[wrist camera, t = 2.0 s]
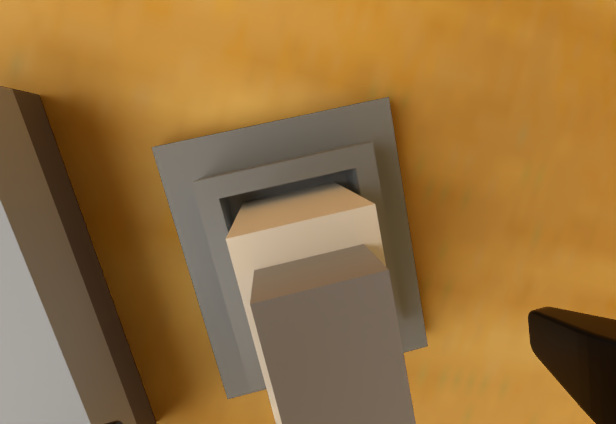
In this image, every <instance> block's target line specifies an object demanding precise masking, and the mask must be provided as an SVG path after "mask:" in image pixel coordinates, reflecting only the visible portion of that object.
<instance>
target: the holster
mask: <svg viewBox="0 0 616 424" xmlns="http://www.w3.org/2000/svg"><path fill="white" fill-rule="evenodd" d="M152 150H153V154H154V157H155V160H156V164H157V167H158V170H159V173H160V177H161V180H162V183H163V187H164V190H165V193H166V197H167V200H168V203H169V207H170V210H171V213H172V217H173V220H174V223H175V226H176V230H177V233H178V236H179V240H180V243H181V246H182V250H183V253H184V256H185V260H186V263H187V266H188V270H189V273H190V276H191V280H192V283H193V286H194V289H195V293H196V296H197V299H198V303H199V306H200V309H201V313H202V316H203V319H204V323H205V326H206V329H207V333H208V336H209V339H210V342H211V346H212V349H213V352H214V356H215V359H216V362H217V366H218V369H219V372H220V376H221V379H222V382H223V386H224V389H225V392H226V395H227V399H230V398H234V397H238V396H242V395H245V394H249V393H253V392H257V391H261V390H264V389H266V385H265V381H264V378H263V374H262V370H261V367H260V363H259V359H258V356H257V352H256V348H255V345H254V341H253V337H252V334H251V330H250V326H249V323H248V319H247V315H246V312H245V308H244V304H243V301H242V297H241V293H240V290H239V286H238V282H237V279H236V275H235V271H234V268H233V264H232V260H231V257H230V253H229V249H228V246H227V242H226V237H227V235H228V233H229V231H230V229H231V227H232V225H233V223H234V220H235V218H236V216H237V214H238V212H239V210H240V208H241V206H242V204H243V202H247V201H251V200H256V199H260V198H265V197H269V196H273V195H278V194H282V193H287V192H291V191H295V190H300V189H304V188H309V187H313V186H317V185H322V184H326V183H331V182H335V183H337V184H339V185H341V186H343V187H344V188H346V189H348V190H350V191H352V192H354V193H356V194H358V195H359V196H361V197H363V198H365V199H367V200H369V201H371V202H372V203H374V204H375V205H376V211H377V217H378V223H379V228H380V234H381V240H382V245H383V251H384V257H385V263H386V267H387V268H388V269H389V273H390V279H391V285H392V291H393V296H394V302H395V308H396V314H397V319H398V325H399V331H400V337H401V342H402V348H403V353H404V352H408V351H412V350H415V349H419V348H423V347H427V346H428V344H427V338H426V332H425V325H424V319H423V312H422V306H421V300H420V293H419V287H418V280H417V274H416V268H415V261H414V255H413V249H412V242H411V236H410V229H409V223H408V217H407V210H406V204H405V197H404V191H403V185H402V178H401V172H400V165H399V159H398V153H397V146H396V140H395V134H394V127H393V121H392V114H391V108H390V102H389V97H386V98H382V99H377V100H372V101H368V102H363V103H358V104H353V105H349V106H344V107H339V108H335V109H330V110H325V111H321V112H316V113H311V114H306V115H302V116H297V117H292V118H288V119H283V120H278V121H273V122H269V123H264V124H259V125H255V126H250V127H245V128H241V129H236V130H231V131H226V132H222V133H217V134H212V135H208V136H203V137H198V138H193V139H189V140H184V141H179V142H175V143H170V144H165V145H161V146H156V147H152Z"/></svg>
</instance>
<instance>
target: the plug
mask: <svg viewBox="0 0 616 424" xmlns="http://www.w3.org/2000/svg"><path fill="white" fill-rule="evenodd" d="M226 242H227V246H228V249H229V253H230V257H231V260H232V264H233V268H234V271H235V275H236V279H237V282H238V286H239V290H240V293H241V297H242V301H243V304H244V308H245V312H246V315H247V319H248V323H249V326H250V330H251V334H252V337H253V341H254V345H255V348H256V352H257V356H258V359H259V363H260V367H261V370H262V374H263V378H264V381H265V385H266V389H267V392H268V396H269V400H270V403H271V407H272V411H273V414H274V418H275V422H276V424H416V423H415V417H414V412H413V406H412V400H411V394H410V388H409V383H408V377H407V371H406V365H405V360H404V354H403V348H402V342H401V337H400V331H399V325H398V319H397V314H396V308H395V302H394V296H393V291H392V285H391V279H390V273H389V269H388V268H387V267H386V263H385V257H384V251H383V245H382V240H381V234H380V228H379V223H378V217H377V211H376V205H375V204H374V203H372V202H371V201H369V200H367V199H365V198H363V197H361V196H359V195H358V194H356V193H354V192H352V191H350V190H348V189H346V188H344V187H343V186H341V185H339V184H337V183H335V182H331V183H326V184H322V185H317V186H313V187H309V188H304V189H300V190H295V191H291V192H287V193H282V194H278V195H273V196H269V197H265V198H260V199H256V200H251V201H247V202H243V204H242V206H241V208H240V210H239V212H238V214H237V216H236V218H235V220H234V223H233V225H232V227H231V229H230V231H229V233H228V235H227V237H226Z"/></svg>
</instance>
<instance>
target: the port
mask: <svg viewBox="0 0 616 424" xmlns="http://www.w3.org/2000/svg"><path fill="white" fill-rule="evenodd" d="M116 420H118V421H121V422H122V423H123V424H156V421H155V418H154V415H153V412H152V409H151V407H150V404H149V401H148V398H147V396H146V393H145V390H144V387H143V384H142V382H141V379H140V376H139V373H138V370H137V368H136V365H135V362H134V359H133V356H132V354H131V351H130V348H129V345H128V342H127V340H126V337H125V334H124V331H123V328H122V326H121V323H120V320H119V317H118V314H117V312H116V309H115V306H114V303H113V300H112V298H111V295H110V292H109V289H108V286H107V284H106V281H105V278H104V275H103V272H102V270H101V267H100V264H99V261H98V258H97V256H96V253H95V250H94V247H93V244H92V242H91V239H90V236H89V233H88V230H87V228H86V225H85V222H84V219H83V216H82V214H81V211H80V208H79V205H78V202H77V200H76V197H75V194H74V191H73V188H72V186H71V183H70V180H69V177H68V175H67V172H66V169H65V166H64V163H63V161H62V158H61V155H60V152H59V149H58V147H57V144H56V141H55V138H54V135H53V133H52V130H51V127H50V124H49V121H48V119H47V116H46V113H45V110H44V107H43V105H42V102H41V99H40V96H39V95H37V94H33V93H29V92H24V91H20V90H15V89H11V88H7V87H2V86H0V424H105V423H109V422H112V421H116Z"/></svg>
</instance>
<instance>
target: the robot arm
mask: <svg viewBox="0 0 616 424" xmlns="http://www.w3.org/2000/svg"><path fill="white" fill-rule="evenodd" d="M528 323H529V334H530V344H531V348H532V350H533V352H534V353H535V355H536V356H537V357H538V359H539V360H540V361H541V362H542V363H543V364H544V366H545V367H546V368H547V369H548V370H549V371H550V372H551V374H552V375H553V376H554V377H555V378H556V379H557V380H558V382H559V383H560V384H561V385H562V386H563V387H564V389H565V390H566V391H567V392H568V393H569V394H570V395H571V397H572V398H573V399H574V400H575V401H576V402H577V404H578V405H579V406H580V407H581V408H582V409H583V410H584V411H585V412H586V414H587V415H588V416H589V417H590V418H591V419H592V420H593V421H594V422H595V423H596V424H616V320H614V319H609V318H604V317H599V316H594V315H588V314H583V313H578V312H573V311H568V310H563V309H558V308H553V307H543V308H540V309H536V310H532V311H531V312H530V313H529V315H528ZM105 424H123V423H122V422H121V421H118V420H116V421H112V422H109V423H105Z"/></svg>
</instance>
